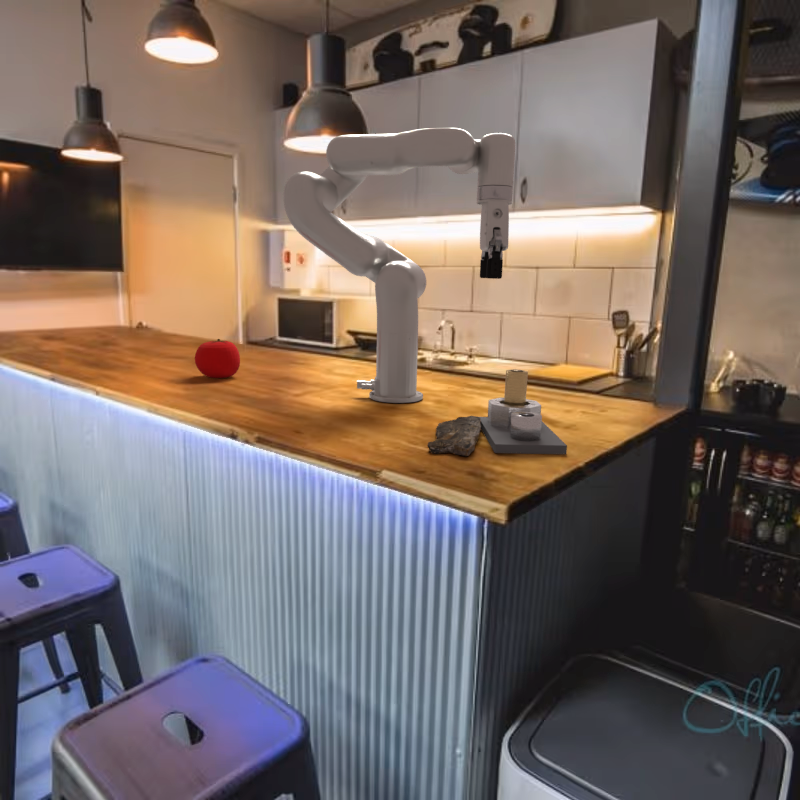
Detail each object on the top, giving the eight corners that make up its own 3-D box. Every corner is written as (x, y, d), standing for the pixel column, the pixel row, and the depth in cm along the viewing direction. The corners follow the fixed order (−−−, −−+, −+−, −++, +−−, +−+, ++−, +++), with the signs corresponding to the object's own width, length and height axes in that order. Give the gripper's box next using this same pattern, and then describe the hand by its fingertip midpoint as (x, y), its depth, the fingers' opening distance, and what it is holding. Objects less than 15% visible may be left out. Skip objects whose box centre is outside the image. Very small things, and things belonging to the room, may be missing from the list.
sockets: (501, 440, 105) (502, 417, 104) (485, 417, 122) (486, 396, 121) (555, 441, 105) (557, 418, 104) (532, 417, 122) (533, 397, 121)
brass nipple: (526, 426, 116) (530, 372, 113) (505, 425, 115) (508, 371, 113) (521, 420, 119) (525, 369, 117) (500, 420, 119) (504, 368, 117)
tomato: (234, 381, 162) (232, 341, 160) (189, 380, 162) (188, 340, 160) (245, 374, 174) (244, 337, 172) (204, 373, 174) (203, 336, 172)
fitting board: (494, 453, 103) (495, 444, 102) (477, 424, 122) (478, 416, 122) (566, 454, 103) (567, 445, 103) (538, 425, 123) (538, 417, 122)
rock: (442, 424, 121) (442, 411, 121) (482, 427, 120) (482, 413, 119) (426, 458, 101) (427, 442, 100) (474, 462, 100) (475, 446, 99)
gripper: (520, 192, 124) (515, 279, 127) (504, 201, 140) (500, 278, 144) (483, 191, 123) (478, 278, 127) (471, 200, 140) (468, 277, 144)
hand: (490, 278), depth 135 cm, fingers open, 9 cm apart
